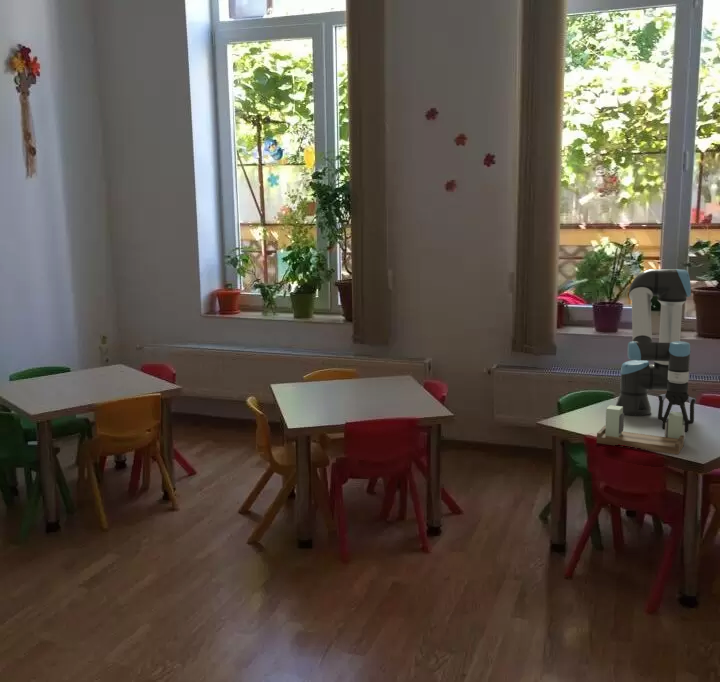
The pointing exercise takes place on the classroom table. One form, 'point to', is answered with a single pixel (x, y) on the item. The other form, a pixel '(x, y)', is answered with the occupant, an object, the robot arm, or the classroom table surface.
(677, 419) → the block
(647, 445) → the rail
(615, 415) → the fixed block
